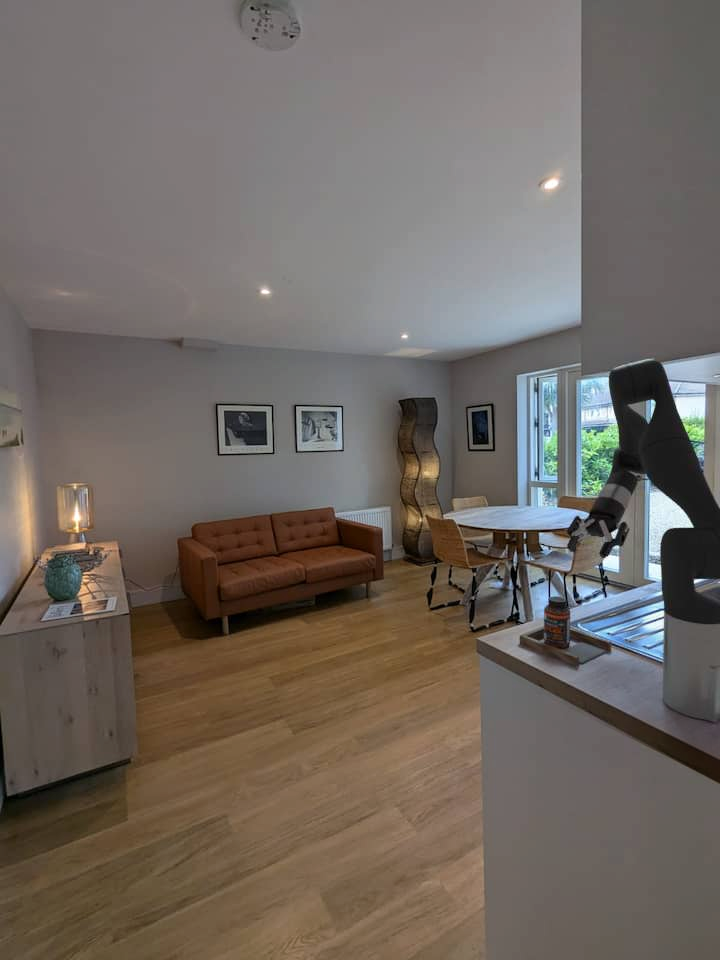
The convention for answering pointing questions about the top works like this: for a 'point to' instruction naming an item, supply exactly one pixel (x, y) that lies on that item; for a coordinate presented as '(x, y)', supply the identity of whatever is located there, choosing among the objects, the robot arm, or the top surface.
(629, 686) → the top surface
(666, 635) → the robot arm
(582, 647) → the front pad
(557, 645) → the supplement bottle
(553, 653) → the frame
